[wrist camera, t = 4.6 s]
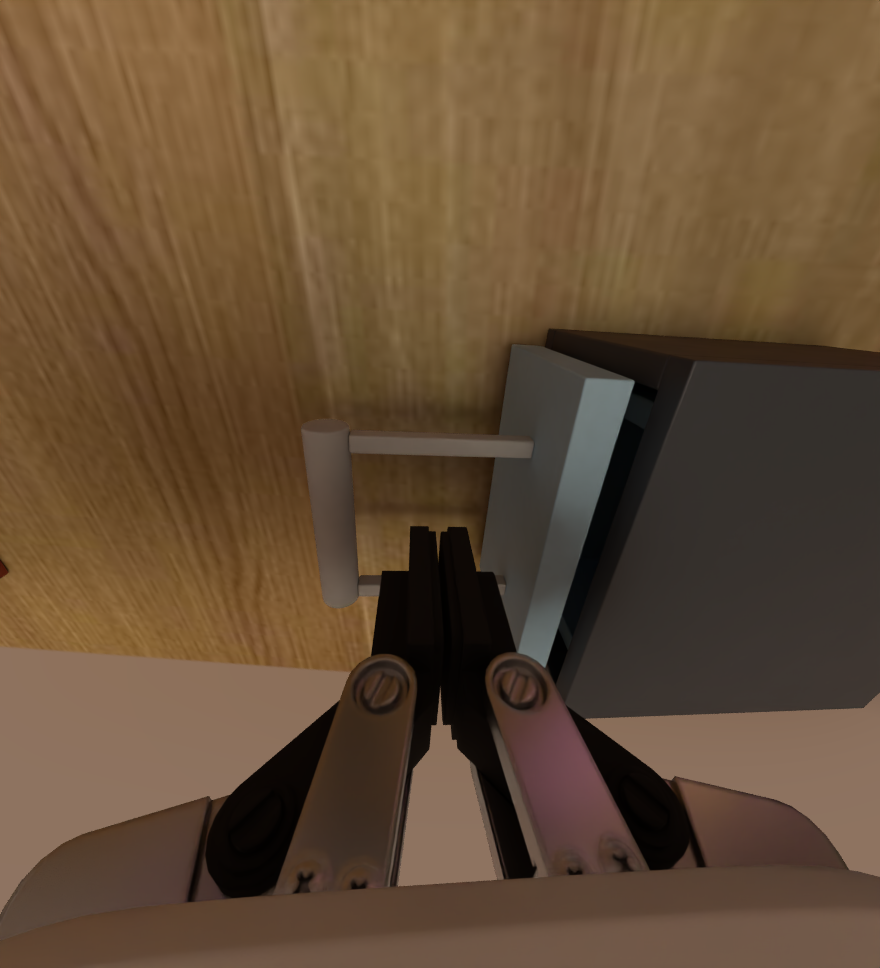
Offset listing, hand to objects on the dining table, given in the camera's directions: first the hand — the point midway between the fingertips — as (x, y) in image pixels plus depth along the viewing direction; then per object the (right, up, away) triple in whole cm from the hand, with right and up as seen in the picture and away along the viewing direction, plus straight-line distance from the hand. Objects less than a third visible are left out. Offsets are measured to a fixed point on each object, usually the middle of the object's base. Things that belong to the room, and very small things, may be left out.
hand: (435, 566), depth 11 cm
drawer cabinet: (+11, +3, +7) cm, 13 cm away
